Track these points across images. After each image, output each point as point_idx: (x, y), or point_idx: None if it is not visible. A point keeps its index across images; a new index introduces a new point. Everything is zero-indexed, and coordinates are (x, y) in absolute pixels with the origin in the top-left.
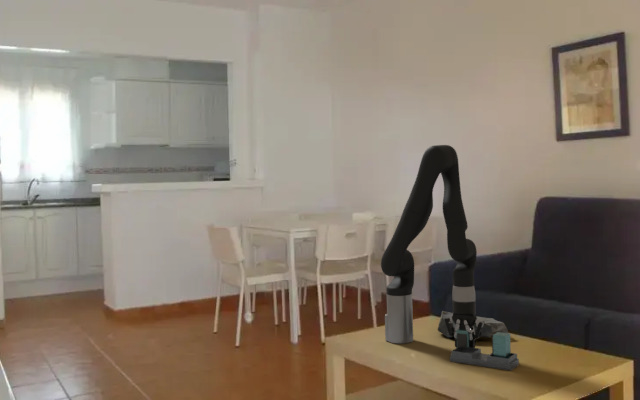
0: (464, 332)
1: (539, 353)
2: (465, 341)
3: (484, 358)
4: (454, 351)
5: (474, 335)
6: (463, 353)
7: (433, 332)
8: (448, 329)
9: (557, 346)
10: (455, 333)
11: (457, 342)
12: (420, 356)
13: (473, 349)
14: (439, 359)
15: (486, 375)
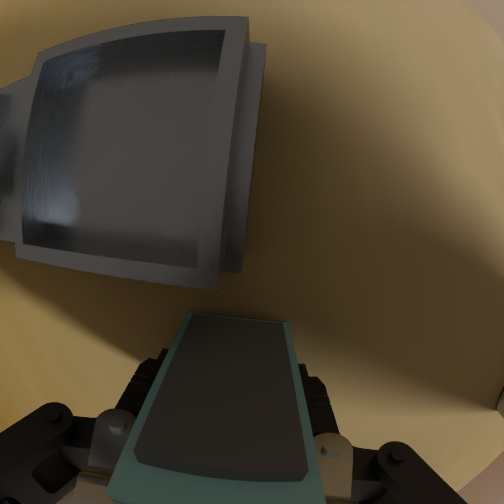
0: (167, 491)
1: (3, 396)
2: (170, 379)
3: (3, 125)
4: (206, 17)
5: (75, 447)
6: (107, 34)
7: None
8: (436, 486)
9: None
10: (340, 478)
11: (289, 376)
12: (487, 154)
13: (67, 246)
14: (369, 103)
15: (32, 3)
